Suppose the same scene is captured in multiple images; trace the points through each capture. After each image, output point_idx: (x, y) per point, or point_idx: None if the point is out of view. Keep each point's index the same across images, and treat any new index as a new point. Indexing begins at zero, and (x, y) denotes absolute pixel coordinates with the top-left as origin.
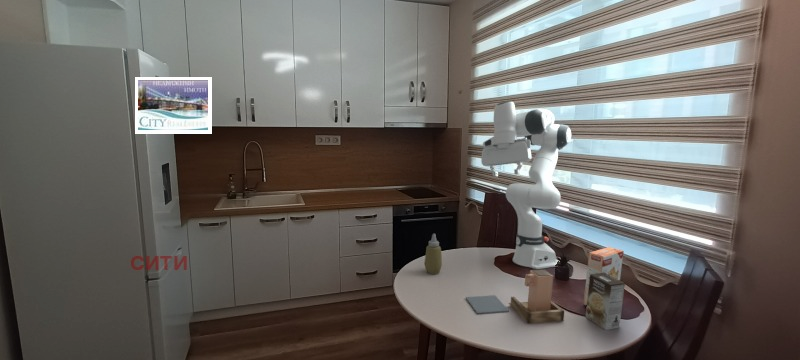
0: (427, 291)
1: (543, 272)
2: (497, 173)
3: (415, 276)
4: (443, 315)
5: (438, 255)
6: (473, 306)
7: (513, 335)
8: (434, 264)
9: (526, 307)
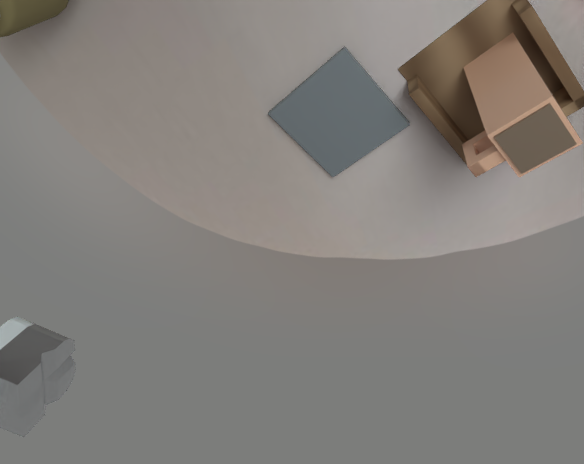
0: (155, 128)
1: (544, 137)
2: (41, 374)
3: (43, 49)
4: (265, 214)
5: (37, 7)
6: (311, 153)
7: (436, 216)
8: (54, 13)
9: (460, 66)
